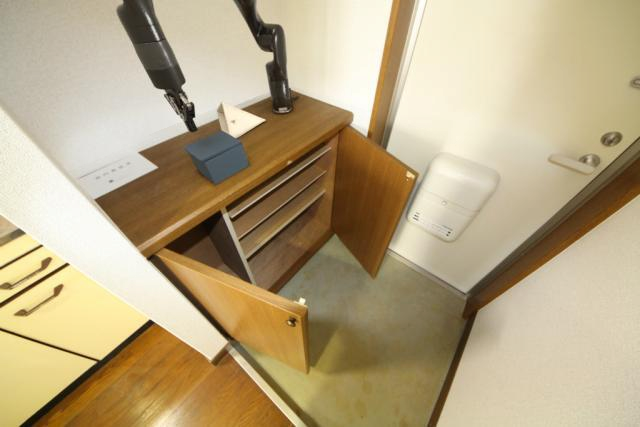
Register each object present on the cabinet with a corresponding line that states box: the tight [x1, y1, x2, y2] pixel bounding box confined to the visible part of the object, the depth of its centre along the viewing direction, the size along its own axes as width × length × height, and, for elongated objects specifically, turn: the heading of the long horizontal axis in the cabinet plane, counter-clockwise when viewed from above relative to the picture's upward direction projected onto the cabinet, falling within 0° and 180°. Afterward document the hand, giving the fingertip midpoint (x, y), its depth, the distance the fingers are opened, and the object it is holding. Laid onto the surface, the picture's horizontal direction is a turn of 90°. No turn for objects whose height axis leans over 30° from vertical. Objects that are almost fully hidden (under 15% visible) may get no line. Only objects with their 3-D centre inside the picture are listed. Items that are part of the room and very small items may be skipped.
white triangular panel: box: [216, 101, 267, 139], centre depth 97 cm, size 15×6×20 cm
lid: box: [181, 130, 243, 163], centre depth 73 cm, size 15×12×1 cm
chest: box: [188, 143, 250, 186], centre depth 77 cm, size 14×12×9 cm
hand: (193, 130), depth 66 cm, fingers closed
